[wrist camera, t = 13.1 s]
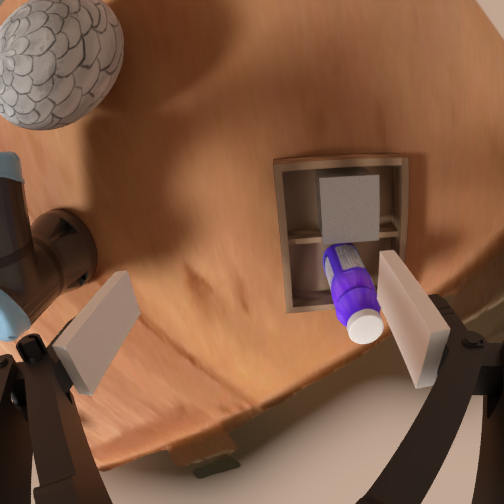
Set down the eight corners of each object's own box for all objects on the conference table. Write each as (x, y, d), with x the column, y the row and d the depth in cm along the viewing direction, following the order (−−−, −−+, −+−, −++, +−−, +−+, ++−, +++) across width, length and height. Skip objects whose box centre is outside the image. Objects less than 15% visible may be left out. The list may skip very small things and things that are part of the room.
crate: (286, 296, 53) (286, 313, 48) (273, 159, 44) (272, 164, 40) (391, 286, 51) (400, 302, 46) (395, 153, 42) (408, 157, 38)
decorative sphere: (125, 136, 44) (42, 155, 26) (34, 114, 43) (-52, 129, 24) (164, 14, 36) (99, -35, 18) (64, 7, 35) (-15, -16, 16)
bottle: (362, 276, 50) (393, 346, 34) (328, 285, 51) (347, 359, 35) (353, 234, 47) (387, 295, 31) (317, 245, 48) (335, 310, 32)
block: (316, 225, 47) (322, 244, 40) (312, 168, 44) (319, 178, 37) (364, 221, 46) (378, 240, 39) (363, 165, 43) (379, 175, 36)
